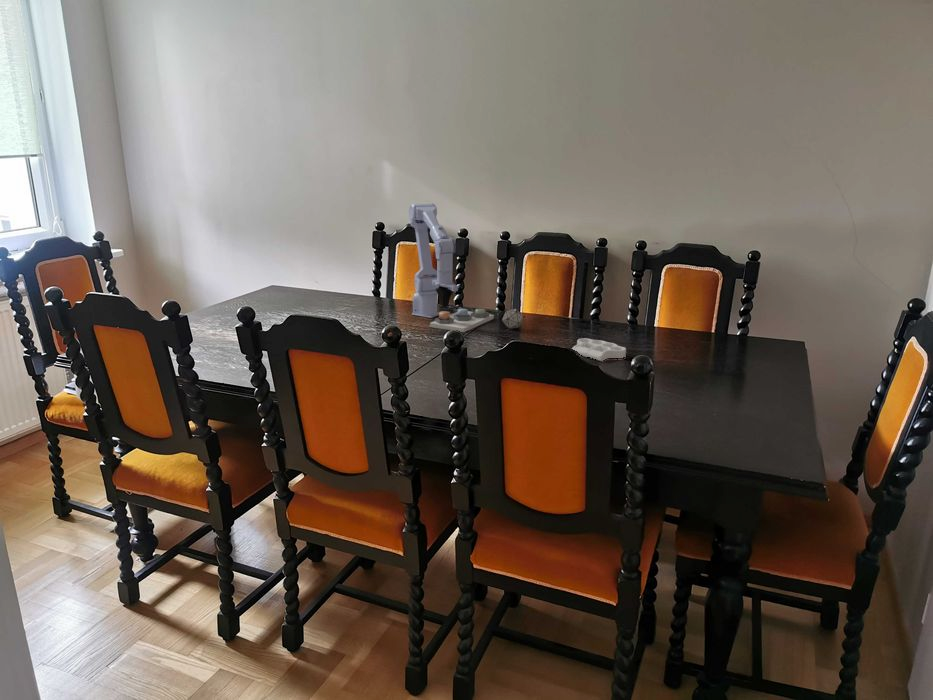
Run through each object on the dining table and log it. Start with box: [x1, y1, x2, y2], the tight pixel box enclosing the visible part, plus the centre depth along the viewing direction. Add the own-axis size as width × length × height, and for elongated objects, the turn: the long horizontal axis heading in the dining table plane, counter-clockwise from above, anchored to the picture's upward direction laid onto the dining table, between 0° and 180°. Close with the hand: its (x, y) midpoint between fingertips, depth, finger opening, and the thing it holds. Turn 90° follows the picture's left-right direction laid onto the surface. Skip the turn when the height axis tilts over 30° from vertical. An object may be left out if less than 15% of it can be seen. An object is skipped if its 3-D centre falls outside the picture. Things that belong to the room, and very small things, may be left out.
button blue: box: [456, 308, 469, 317], centre depth 268 cm, size 4×4×2 cm
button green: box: [474, 308, 486, 315], centre depth 273 cm, size 4×4×2 cm
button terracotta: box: [438, 310, 451, 320], centre depth 264 cm, size 4×4×2 cm
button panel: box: [429, 310, 495, 333], centre depth 269 cm, size 15×24×3 cm, turn 151°
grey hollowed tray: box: [571, 337, 627, 362], centre depth 233 cm, size 3×18×15 cm
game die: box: [499, 306, 526, 331], centre depth 260 cm, size 9×8×10 cm
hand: (444, 306), depth 263 cm, fingers closed
